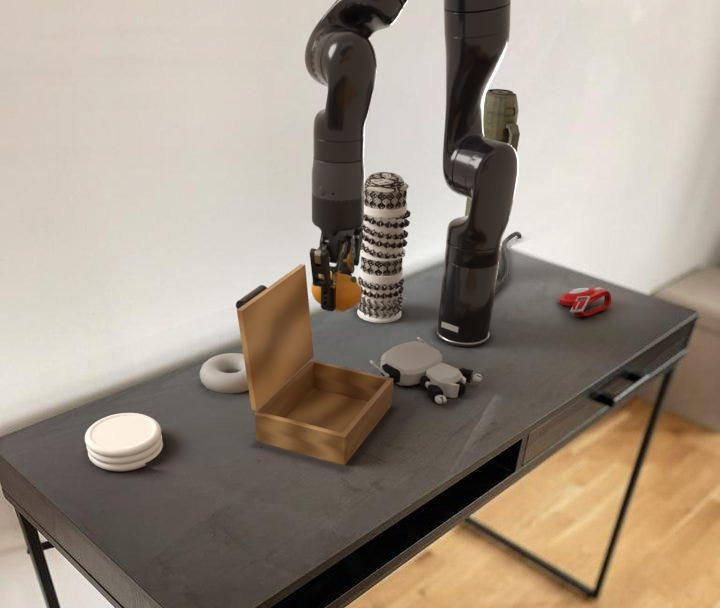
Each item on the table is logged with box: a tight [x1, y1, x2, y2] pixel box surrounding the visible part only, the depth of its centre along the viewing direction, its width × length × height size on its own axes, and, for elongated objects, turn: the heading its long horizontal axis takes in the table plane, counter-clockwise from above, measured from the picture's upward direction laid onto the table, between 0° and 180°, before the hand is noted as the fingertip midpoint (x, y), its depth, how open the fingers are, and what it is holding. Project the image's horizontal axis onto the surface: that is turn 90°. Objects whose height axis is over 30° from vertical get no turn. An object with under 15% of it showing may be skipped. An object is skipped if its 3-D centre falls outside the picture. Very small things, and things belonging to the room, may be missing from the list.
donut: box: [199, 352, 249, 395], centre depth 120 cm, size 10×4×10 cm
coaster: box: [84, 412, 164, 472], centre depth 103 cm, size 10×10×4 cm
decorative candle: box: [356, 171, 412, 324], centre depth 136 cm, size 9×9×25 cm
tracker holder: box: [558, 286, 612, 317], centre depth 147 cm, size 12×4×10 cm
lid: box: [235, 263, 315, 412], centre depth 106 cm, size 14×18×5 cm
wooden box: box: [254, 359, 394, 466], centre depth 110 cm, size 14×18×5 cm
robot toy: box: [369, 336, 483, 405], centre depth 121 cm, size 12×4×15 cm
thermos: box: [464, 88, 521, 276], centre depth 150 cm, size 9×12×35 cm
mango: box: [310, 271, 362, 313], centre depth 116 cm, size 8×5×5 cm, turn 67°
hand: (336, 302), depth 118 cm, fingers closed on mango, 5 cm apart
